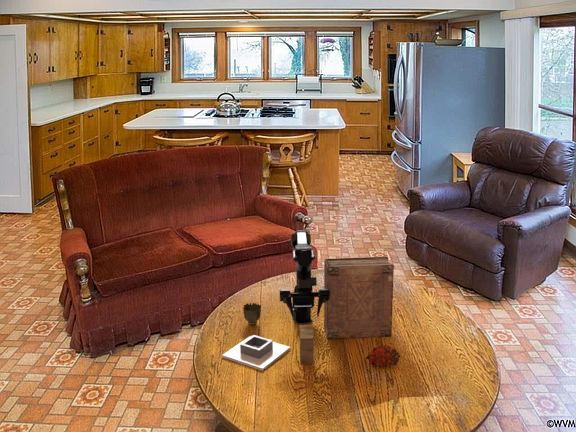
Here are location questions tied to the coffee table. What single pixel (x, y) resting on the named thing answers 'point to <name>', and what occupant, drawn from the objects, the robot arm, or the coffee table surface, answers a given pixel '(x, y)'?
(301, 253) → the robot arm
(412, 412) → the coffee table surface
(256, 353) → the plate
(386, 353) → the dragon fruit
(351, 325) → the book
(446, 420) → the coffee table surface
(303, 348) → the walnut post
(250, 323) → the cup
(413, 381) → the coffee table surface
